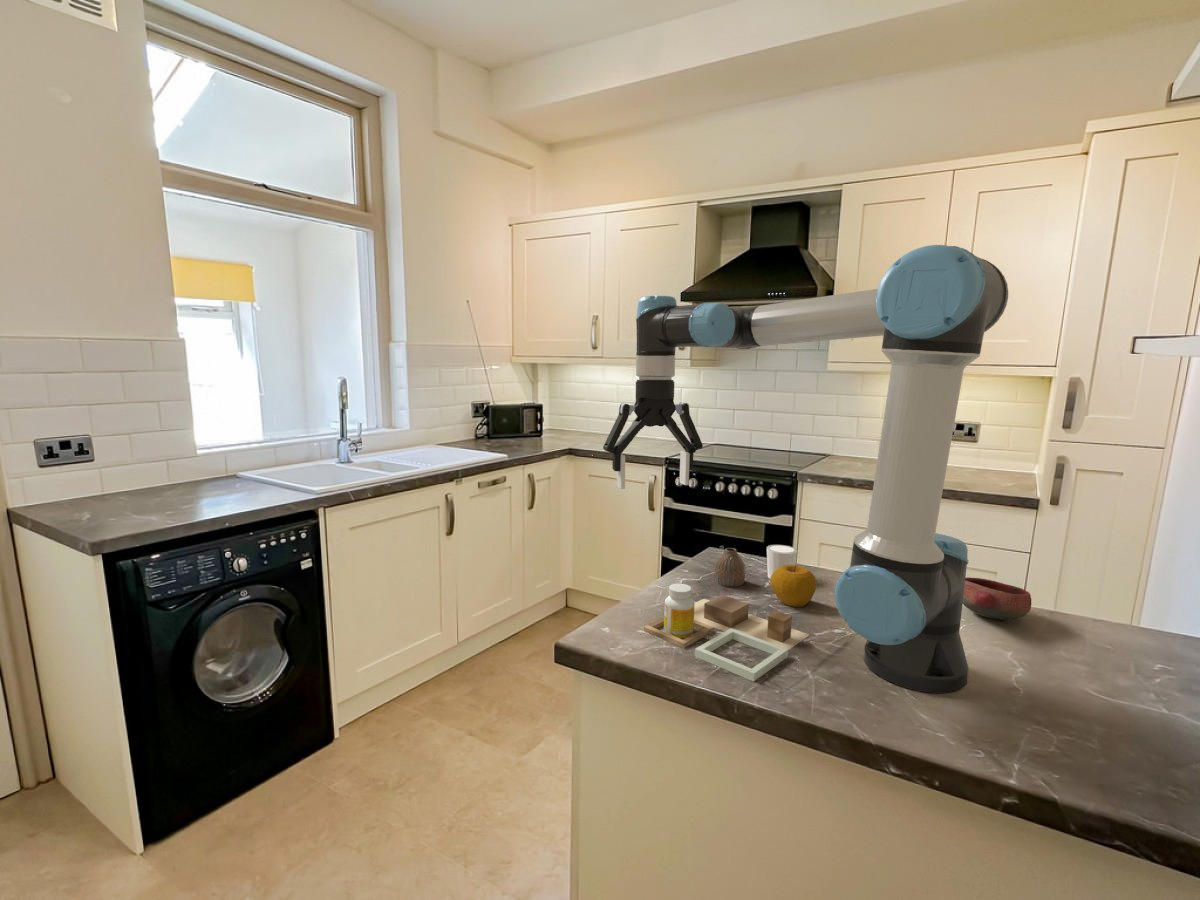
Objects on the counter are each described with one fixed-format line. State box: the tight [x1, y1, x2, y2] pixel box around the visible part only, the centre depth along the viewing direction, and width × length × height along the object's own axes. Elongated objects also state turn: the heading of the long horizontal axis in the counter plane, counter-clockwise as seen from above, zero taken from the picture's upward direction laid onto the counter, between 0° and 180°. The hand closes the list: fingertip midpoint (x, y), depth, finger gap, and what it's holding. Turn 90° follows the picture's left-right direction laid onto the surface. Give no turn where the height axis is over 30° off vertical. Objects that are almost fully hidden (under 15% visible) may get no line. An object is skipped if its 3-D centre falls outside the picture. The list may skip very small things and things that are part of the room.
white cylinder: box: [766, 544, 798, 579], centre depth 138 cm, size 7×7×7 cm
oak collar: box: [643, 616, 715, 649], centre depth 107 cm, size 9×9×2 cm
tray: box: [694, 628, 789, 682], centre depth 98 cm, size 11×11×2 cm
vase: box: [713, 547, 747, 588], centre depth 131 cm, size 7×7×9 cm
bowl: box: [962, 576, 1032, 621], centre depth 116 cm, size 16×13×8 cm
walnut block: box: [704, 594, 750, 628], centre depth 113 cm, size 6×6×3 cm
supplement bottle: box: [663, 583, 695, 639], centre depth 107 cm, size 5×5×10 cm
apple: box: [769, 564, 817, 608], centre depth 121 cm, size 9×9×9 cm
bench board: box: [694, 598, 811, 651], centre depth 111 cm, size 23×10×5 cm, turn 45°
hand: (652, 485), depth 117 cm, fingers open, 13 cm apart
